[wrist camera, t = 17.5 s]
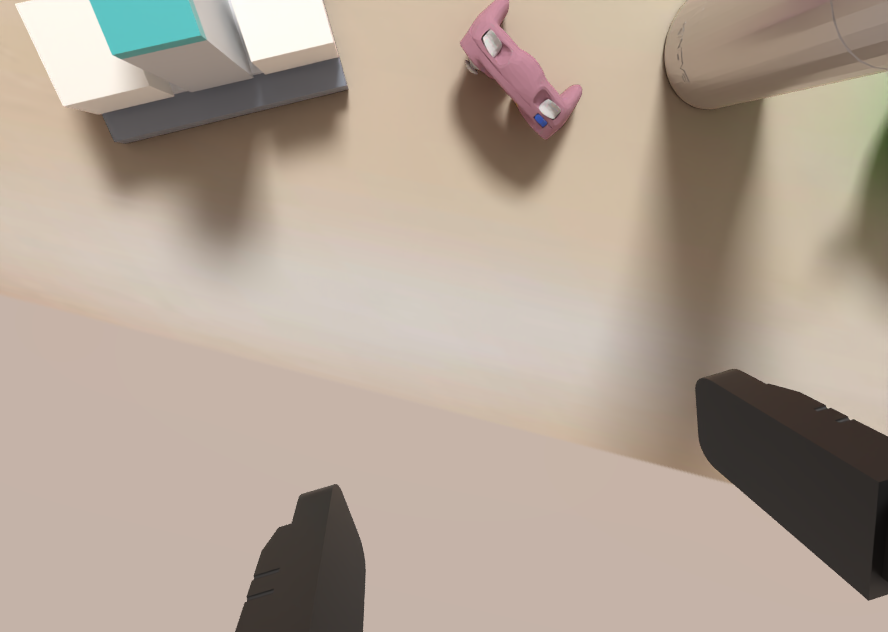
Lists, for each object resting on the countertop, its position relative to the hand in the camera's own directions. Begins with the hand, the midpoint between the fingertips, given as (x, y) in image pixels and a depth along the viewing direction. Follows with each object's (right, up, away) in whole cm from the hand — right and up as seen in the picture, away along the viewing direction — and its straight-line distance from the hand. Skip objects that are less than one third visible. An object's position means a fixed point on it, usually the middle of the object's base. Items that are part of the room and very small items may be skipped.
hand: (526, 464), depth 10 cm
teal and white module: (-18, +22, +20) cm, 35 cm away
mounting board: (-18, +22, +22) cm, 37 cm away
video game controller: (+4, +22, +26) cm, 34 cm away
